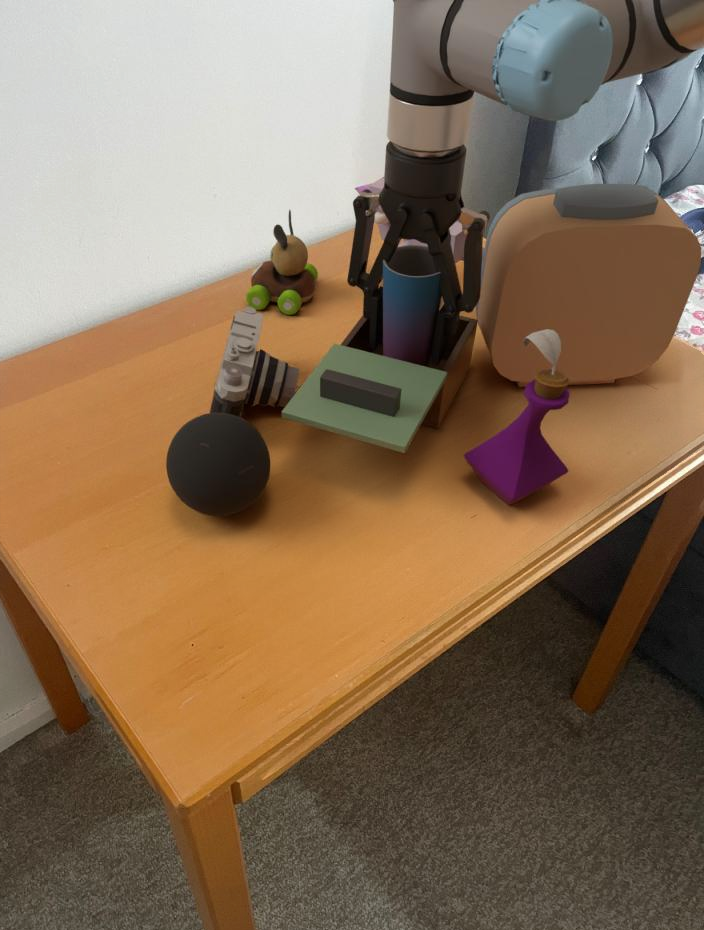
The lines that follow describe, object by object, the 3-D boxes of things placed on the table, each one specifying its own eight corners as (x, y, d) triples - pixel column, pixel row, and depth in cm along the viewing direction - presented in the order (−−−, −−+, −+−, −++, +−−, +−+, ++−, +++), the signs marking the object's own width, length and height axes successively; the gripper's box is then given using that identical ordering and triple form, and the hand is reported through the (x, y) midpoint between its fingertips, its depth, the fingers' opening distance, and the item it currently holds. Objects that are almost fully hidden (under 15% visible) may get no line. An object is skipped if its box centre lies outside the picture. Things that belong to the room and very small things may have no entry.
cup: (370, 391, 88) (377, 272, 77) (381, 357, 92) (389, 241, 82) (428, 399, 87) (443, 280, 76) (436, 365, 91) (452, 249, 80)
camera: (278, 463, 83) (301, 393, 76) (201, 443, 81) (217, 371, 74) (291, 377, 94) (312, 309, 87) (223, 359, 92) (239, 289, 85)
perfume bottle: (562, 493, 77) (610, 344, 64) (506, 522, 74) (546, 372, 61) (512, 452, 82) (548, 305, 69) (458, 478, 79) (485, 329, 66)
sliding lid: (446, 378, 79) (450, 352, 77) (404, 453, 71) (407, 427, 69) (333, 349, 83) (334, 324, 81) (281, 417, 75) (280, 392, 73)
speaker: (190, 462, 81) (177, 386, 73) (281, 472, 79) (277, 397, 72) (161, 530, 74) (143, 454, 67) (260, 543, 73) (253, 467, 65)
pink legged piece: (329, 278, 107) (329, 182, 97) (376, 251, 113) (381, 157, 103) (443, 330, 98) (457, 230, 88) (489, 298, 103) (507, 200, 94)
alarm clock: (626, 341, 96) (685, 168, 81) (653, 386, 90) (723, 208, 74) (466, 347, 95) (495, 173, 80) (482, 393, 89) (517, 214, 73)
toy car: (264, 275, 108) (259, 198, 100) (323, 284, 106) (323, 206, 98) (241, 308, 102) (234, 229, 94) (304, 318, 100) (302, 238, 92)
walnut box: (469, 367, 92) (478, 319, 87) (437, 428, 84) (444, 379, 79) (374, 344, 96) (376, 296, 91) (334, 400, 88) (335, 351, 83)
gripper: (541, 144, 70) (499, 353, 86) (344, 113, 75) (340, 315, 92) (522, 175, 65) (481, 390, 82) (313, 139, 71) (315, 347, 87)
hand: (406, 350), depth 87 cm, fingers open, 7 cm apart
